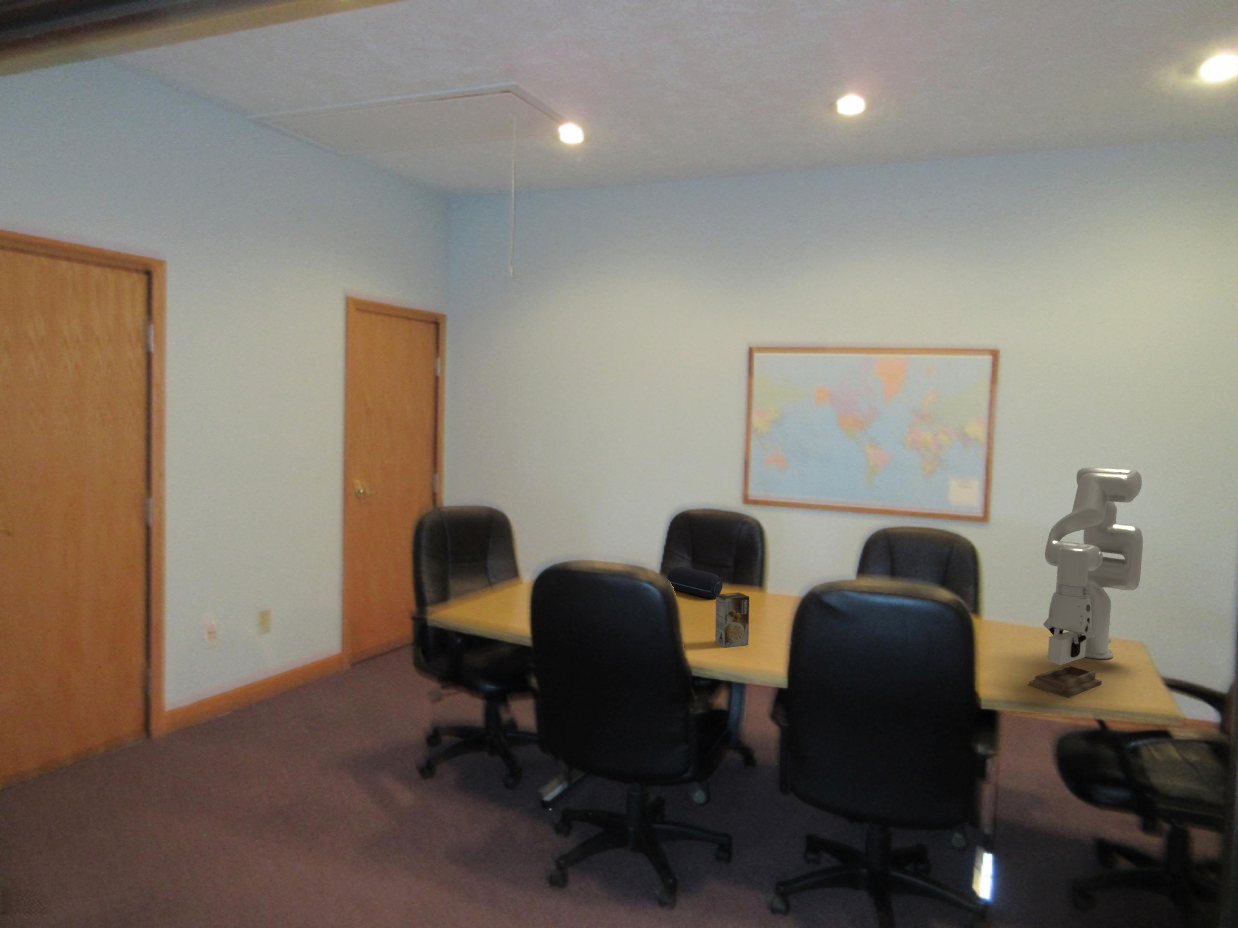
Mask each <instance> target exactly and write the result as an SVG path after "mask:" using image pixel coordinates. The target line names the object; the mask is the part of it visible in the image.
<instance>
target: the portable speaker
mask: <svg viewBox="0 0 1238 928" xmlns="http://www.w3.org/2000/svg"><path fill="white" fill-rule="evenodd" d="M667 579H668V580H669V581H670V582H671V584H672V586H673V587H674V588H673V589H674V590H676V591H679V592H683V593H687V594H691V595H694V596H700V597H703V598H706V599H716V595H717V594H721V593H722V589H723V581H722V579H721V578H720V576H718V574H715V573H712V572H707V571H702V570H699V569H696V568H695V569H694V568H691V567H686V566H685V567H684V566H676V567H673V568H671V569H670V570H669V571H668V573H667ZM668 580H667V581H668Z"/></svg>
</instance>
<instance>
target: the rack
mask: <svg viewBox="0 0 1238 928" xmlns="http://www.w3.org/2000/svg"><path fill="white" fill-rule="evenodd" d="M1096 673H1097V672H1096V671H1094V670H1093V671H1092V670H1089V669H1086V668H1082V667H1078V666H1074V665H1071V664H1066V665H1064V666H1060V667H1059V668H1055V669H1052V670H1049V671H1047V672H1044V673H1041V674H1039V675H1036V676H1034V679H1032V680H1029V681H1028V682H1027V683H1028V684H1027V685H1028V686H1030V687H1032V688H1033V687H1034V688H1036V689H1039V690H1040V689H1041V690H1043V691H1047V692H1049V693H1053V694H1056V695H1059V696H1063V697H1066V698H1071V697H1073V696H1075V695H1078V694H1080V693H1083V692H1086V691H1089V690H1090V688H1091V689H1093V688H1095V687H1096V688H1097V687H1098V686H1101V685H1102V684H1103V683H1102V682H1103V680H1100V679H1096V676H1097V675H1096Z"/></svg>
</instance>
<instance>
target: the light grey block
mask: <svg viewBox="0 0 1238 928" xmlns="http://www.w3.org/2000/svg"><path fill="white" fill-rule="evenodd" d="M1085 634H1086V633H1082V635H1085ZM1073 641H1074V640H1073V632H1070V631H1065V632H1063V633H1062V634H1058V635H1055V636H1053V635H1051V636H1049V637H1048V647H1047V648H1048V651H1047V662H1048V663H1052V664H1055V665H1059V666H1062V665H1065V664H1067V663H1071V662H1074V661H1077V660H1081V659H1083V658H1085V648H1086V640H1084V641H1083V642H1082V643H1081V645H1080V654H1079V655H1078V656H1077V657H1074V658H1073V657H1071V646H1072V643H1073Z"/></svg>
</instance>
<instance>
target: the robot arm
mask: <svg viewBox="0 0 1238 928" xmlns="http://www.w3.org/2000/svg"><path fill="white" fill-rule="evenodd" d="M1142 483H1143V481H1142V475H1141V474H1140V472H1139V471H1137V470H1135V469H1130V468H1129V469H1128V468H1127V469H1126V468H1114V467H1113V468H1110V467H1097V466H1093V467H1091V466H1089V467H1084V468H1080V469H1079V470H1078V471H1077V473H1076V485H1077V488H1076V493H1075V497H1074V502H1073V504H1072V505H1073V506H1072V509H1071V510H1072V511H1071V512H1069V513H1068V514H1066V515H1065V516H1063V517H1061V519H1059V520H1058V521H1057V522H1056V523H1055V524H1054V525H1053V526H1052V527H1051V529H1050V531H1049V533H1048V537H1047V541H1046V545H1045V551H1044V559H1045V562H1046V563H1047V564H1049V565H1050V566H1053V567H1057V568H1056V585H1055V591H1054V592H1053V593H1052V597H1051V600H1050V603H1049V607H1048V608H1049V609H1048V617H1047V619H1046V620H1045V621H1044V623H1043V626H1044V627H1045V628H1046V629H1047V630H1049V632H1050V633H1051V636H1055V635H1058V634H1062V633H1064V631H1065V632H1069V631H1070V632H1073V640H1074V641H1073V643H1072V646H1071V657H1073V658H1074V657H1077V656H1078V655H1079V654H1080V645H1081V643H1082V642H1083V641H1084V640H1086V648H1085V657H1086V658H1089V659H1090V658H1091V659H1100V660H1104V659H1105V660H1108V659H1111V658H1113V657H1114V652H1113V651H1112V650H1111V649H1109V644H1111V643H1112V639H1111V638H1110V635H1109V634H1110V625H1111V624H1110V623H1111V621H1110V620H1111V610H1112V601H1111V597H1110V596H1109V594H1108V593H1107V591H1106V590H1105V589H1104V588H1107V589H1109V588H1110V589H1116V590H1120V591H1121V590H1123V591H1134V590H1137V589H1138V588H1139V585H1140V582H1141V573H1142V572H1141V571H1142V561H1143V560H1142V559H1143V549H1144V548H1143V547H1144V538H1143V533H1142V530H1141V528H1139V527H1137V526H1135V525H1131V524H1123V523H1117V515H1118V513H1117V512H1118V508H1117V505H1116V503H1123V504H1127V503H1131V502H1133V501H1134V500H1135V499H1136V497H1137V496H1138V495H1139V493H1140V492H1141V489H1142V485H1143V484H1142ZM1082 530H1083V541H1082V542H1083V543H1080V542H1079V543H1078V542H1072V541H1064V540H1063V541H1062V539H1063V538H1064V537H1066V536H1067V535H1069V534H1071V533H1075V532H1078V531H1079V532H1080V531H1082ZM1103 553H1106V554H1114V555H1115V554H1116V555H1121V556H1122V557H1123V558H1124V559H1123V558H1117V557H1115V558H1114V557H1111V556H1110V557H1108V556H1104V555H1103ZM1082 633H1086V634H1085V635H1082ZM1085 657H1084V658H1085Z"/></svg>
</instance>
